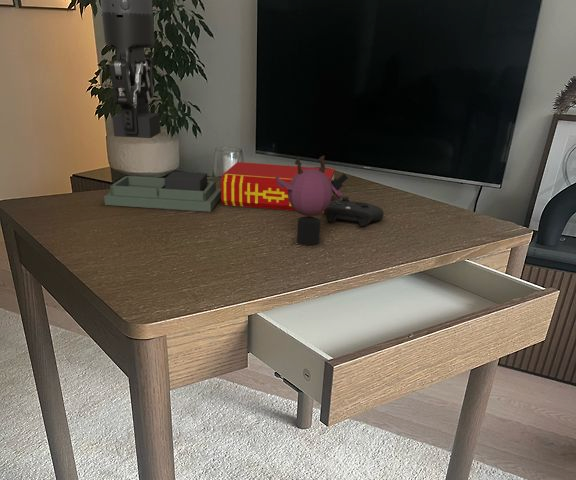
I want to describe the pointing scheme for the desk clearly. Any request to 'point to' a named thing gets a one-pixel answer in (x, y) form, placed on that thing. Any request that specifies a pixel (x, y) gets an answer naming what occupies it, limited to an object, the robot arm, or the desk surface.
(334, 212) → the game controller
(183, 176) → the pad
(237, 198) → the book
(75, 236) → the desk surface
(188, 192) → the divided tray
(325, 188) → the figurine
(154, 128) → the pad
